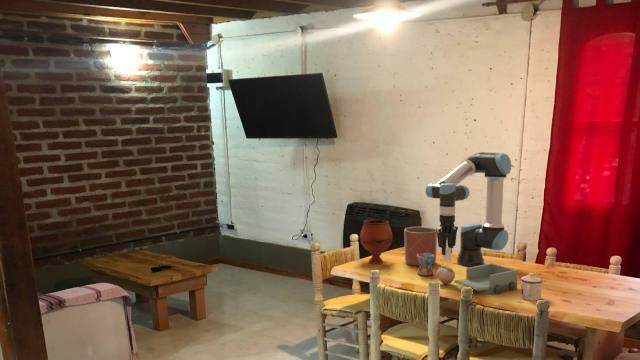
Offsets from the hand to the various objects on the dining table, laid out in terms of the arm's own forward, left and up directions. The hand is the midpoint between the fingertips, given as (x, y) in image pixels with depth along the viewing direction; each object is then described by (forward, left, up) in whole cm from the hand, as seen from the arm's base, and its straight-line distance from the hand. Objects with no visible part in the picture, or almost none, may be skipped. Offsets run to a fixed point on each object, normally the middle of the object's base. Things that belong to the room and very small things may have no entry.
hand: (446, 260), depth 262 cm
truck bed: (-16, +15, -12) cm, 25 cm away
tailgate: (-6, +15, -9) cm, 18 cm away
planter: (-17, -39, -13) cm, 45 cm away
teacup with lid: (-17, +37, -13) cm, 42 cm away
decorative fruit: (0, 0, -13) cm, 13 cm away
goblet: (+4, -54, -13) cm, 56 cm away
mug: (-5, -20, -13) cm, 24 cm away
